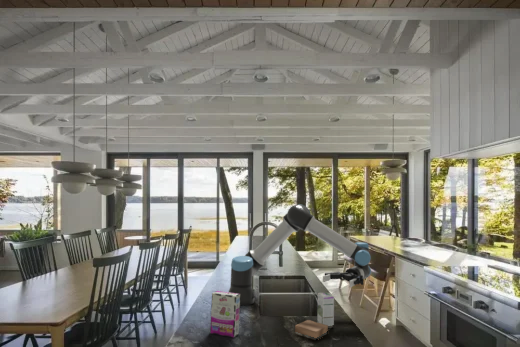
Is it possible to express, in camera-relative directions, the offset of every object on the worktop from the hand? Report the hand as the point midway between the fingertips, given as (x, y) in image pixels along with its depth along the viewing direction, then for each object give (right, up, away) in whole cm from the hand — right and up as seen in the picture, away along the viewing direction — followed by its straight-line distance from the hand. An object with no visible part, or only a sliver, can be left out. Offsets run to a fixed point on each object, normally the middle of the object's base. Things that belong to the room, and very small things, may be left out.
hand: (336, 281), depth 172 cm
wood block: (-14, -17, -18) cm, 29 cm away
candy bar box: (-51, -15, -22) cm, 57 cm away
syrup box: (-7, -18, -9) cm, 21 cm away
